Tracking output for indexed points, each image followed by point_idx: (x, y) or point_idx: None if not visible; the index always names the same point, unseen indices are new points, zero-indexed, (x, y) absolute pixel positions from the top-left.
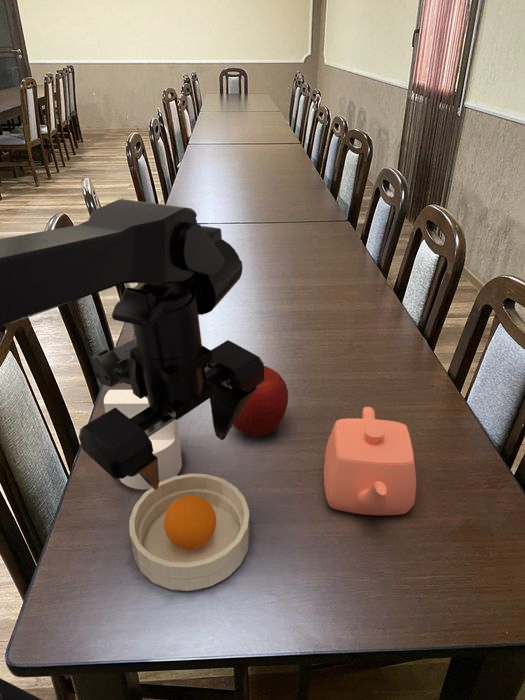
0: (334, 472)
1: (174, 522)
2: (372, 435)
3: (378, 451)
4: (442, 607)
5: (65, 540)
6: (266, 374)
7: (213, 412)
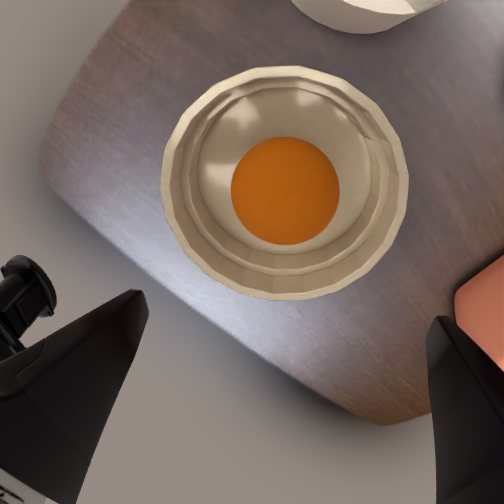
0: (483, 340)
1: (239, 204)
2: None
3: None
4: (383, 401)
5: (128, 28)
6: None
7: (477, 401)
